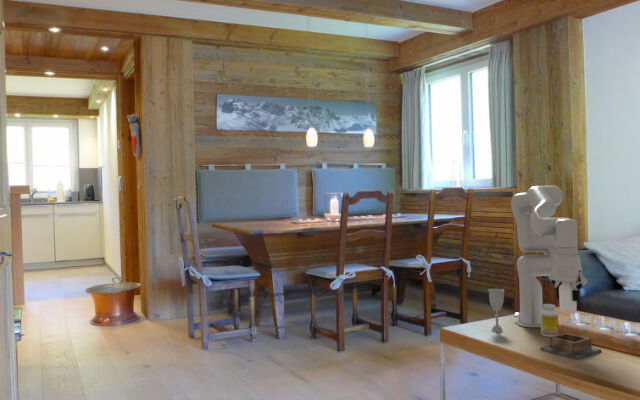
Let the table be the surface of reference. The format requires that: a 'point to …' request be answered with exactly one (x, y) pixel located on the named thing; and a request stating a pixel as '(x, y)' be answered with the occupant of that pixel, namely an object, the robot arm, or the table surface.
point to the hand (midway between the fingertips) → (567, 298)
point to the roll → (566, 298)
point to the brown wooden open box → (571, 346)
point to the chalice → (496, 305)
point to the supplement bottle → (549, 321)
